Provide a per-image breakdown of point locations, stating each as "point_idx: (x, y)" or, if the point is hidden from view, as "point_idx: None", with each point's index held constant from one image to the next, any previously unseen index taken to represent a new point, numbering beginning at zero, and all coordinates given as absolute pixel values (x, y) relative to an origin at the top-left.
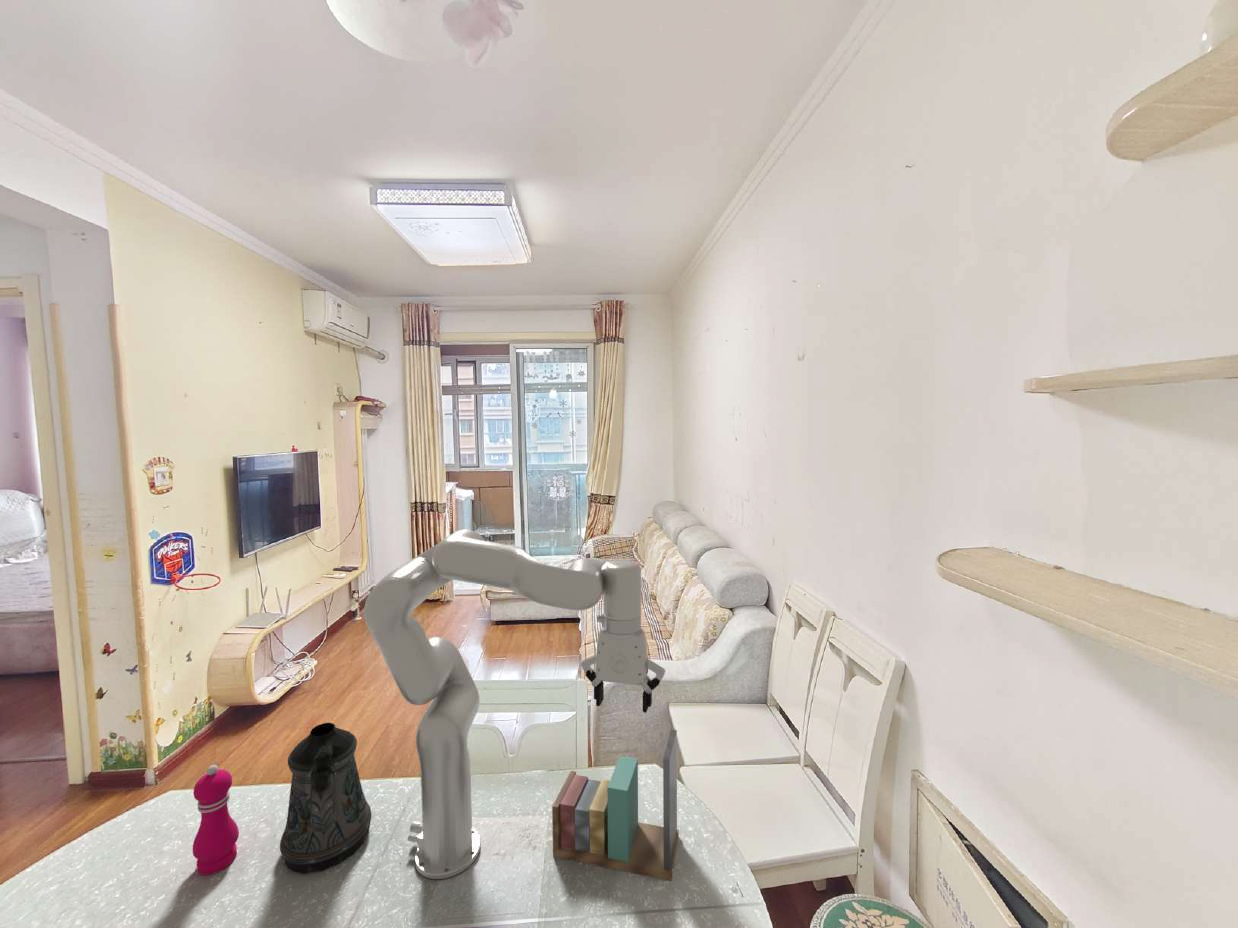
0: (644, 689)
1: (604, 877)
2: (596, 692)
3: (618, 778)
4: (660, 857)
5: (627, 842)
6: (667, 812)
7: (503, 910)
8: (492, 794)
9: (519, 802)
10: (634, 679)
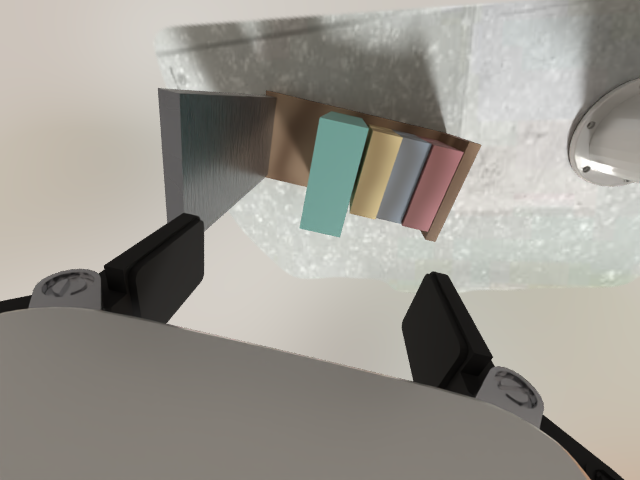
0: (97, 294)
1: (367, 94)
2: (472, 327)
3: (341, 162)
4: (282, 122)
5: (329, 112)
6: (237, 94)
7: (536, 16)
8: (539, 251)
9: (496, 235)
10: (42, 363)
